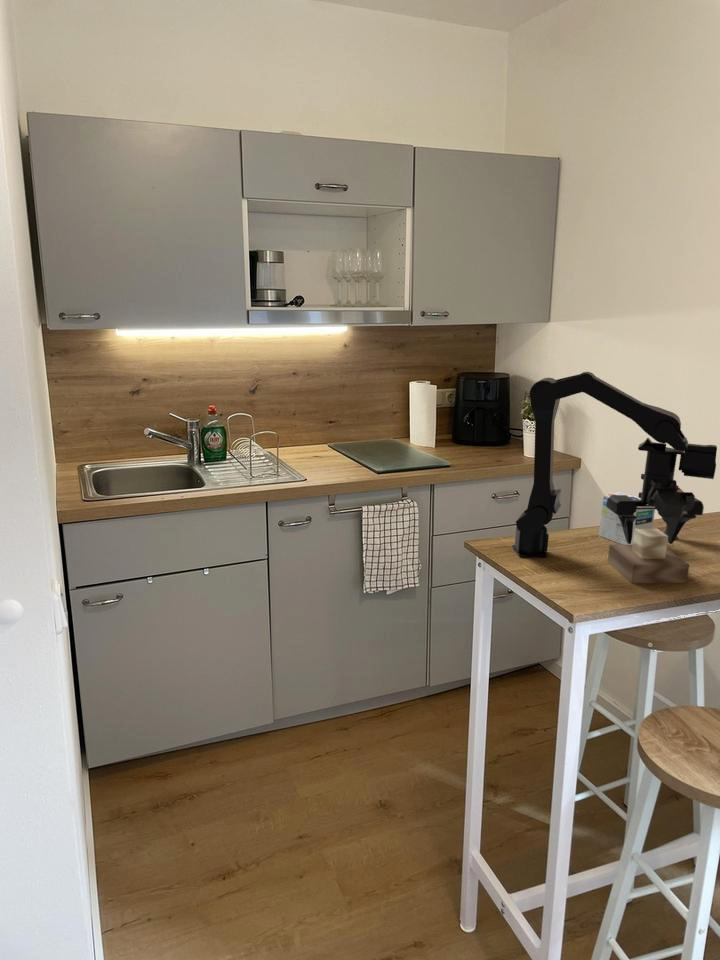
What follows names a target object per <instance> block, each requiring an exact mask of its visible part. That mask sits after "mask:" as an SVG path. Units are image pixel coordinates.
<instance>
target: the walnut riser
mask: <svg viewBox="0 0 720 960" xmlns="http://www.w3.org/2000/svg"><path fill="white" fill-rule="evenodd" d="M607 563H608V564H610V565H611V566H612V567H613V568H614V569H615V570H616V571H617V572H618V573H620V574H621V575H622V576H623V578H625V579H626V580H627V581H628V582H630V584H667V583H669V584H671V583H674V584H675V583H678V584H681V583H684V584H685V583H687V582H688V576H689V570H690V564H689V562H687V561H685V560H684V559H682V558H681V557H680V556H678V555H677V554H675V552H673V551H671V550H670V549H668V548H666V555H665V559H642V558H641V557H639V556H638V555H637V554H636V553H634V552H633V551H632V545H622V544H609V547H608V556H607Z"/></svg>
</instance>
